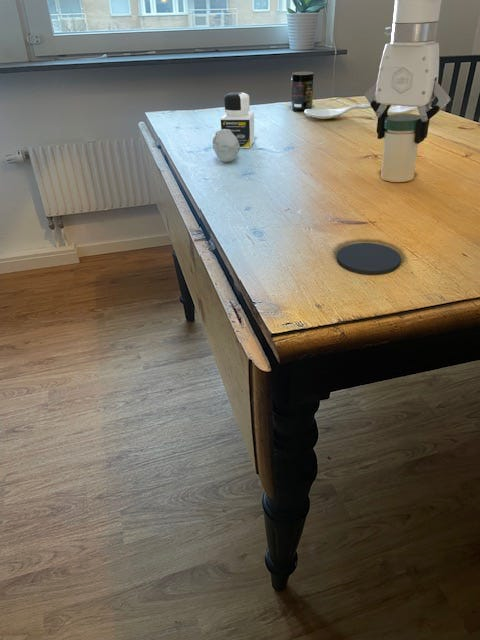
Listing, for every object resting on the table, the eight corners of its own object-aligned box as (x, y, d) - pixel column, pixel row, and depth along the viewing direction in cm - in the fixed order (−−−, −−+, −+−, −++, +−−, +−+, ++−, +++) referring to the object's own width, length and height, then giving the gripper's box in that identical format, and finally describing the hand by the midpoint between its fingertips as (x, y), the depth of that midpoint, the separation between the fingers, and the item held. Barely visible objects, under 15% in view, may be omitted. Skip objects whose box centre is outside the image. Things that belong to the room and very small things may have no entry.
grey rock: (231, 155, 119) (230, 124, 115) (245, 162, 114) (244, 130, 110) (208, 160, 117) (206, 128, 113) (222, 167, 112) (220, 135, 108)
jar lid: (429, 127, 94) (430, 117, 93) (400, 133, 92) (401, 122, 91) (404, 121, 100) (405, 112, 99) (376, 127, 97) (376, 117, 96)
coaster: (393, 245, 76) (393, 241, 75) (406, 274, 68) (407, 270, 68) (333, 246, 76) (333, 243, 76) (340, 275, 69) (340, 271, 69)
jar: (409, 171, 103) (415, 118, 98) (417, 181, 98) (424, 124, 92) (377, 173, 104) (382, 120, 98) (384, 183, 98) (389, 127, 93)
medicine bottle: (222, 148, 124) (218, 96, 118) (227, 140, 130) (225, 90, 124) (250, 148, 123) (248, 96, 116) (254, 141, 129) (253, 90, 122)
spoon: (419, 118, 142) (421, 105, 140) (305, 123, 143) (306, 110, 141) (410, 111, 149) (412, 99, 147) (302, 116, 150) (303, 103, 148)
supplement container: (315, 107, 159) (316, 71, 153) (308, 112, 154) (310, 75, 148) (295, 107, 162) (295, 71, 156) (288, 111, 156) (288, 74, 151)
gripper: (358, 36, 89) (350, 139, 99) (457, 36, 80) (438, 150, 90) (376, 32, 94) (367, 130, 104) (472, 32, 85) (452, 140, 95)
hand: (400, 138), depth 97 cm, fingers closed on jar lid, 6 cm apart
